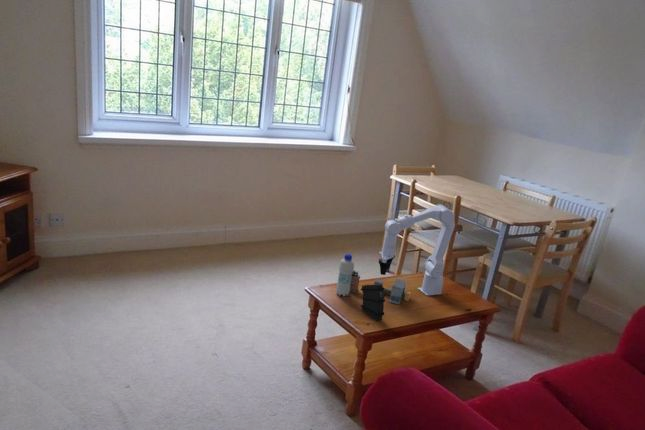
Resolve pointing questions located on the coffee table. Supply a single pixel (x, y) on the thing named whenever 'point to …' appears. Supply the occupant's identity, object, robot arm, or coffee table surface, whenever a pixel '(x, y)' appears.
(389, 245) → the robot arm
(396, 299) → the housing
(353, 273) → the lighter
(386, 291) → the plug
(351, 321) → the coffee table surface
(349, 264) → the bottle
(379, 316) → the black ribbed block
